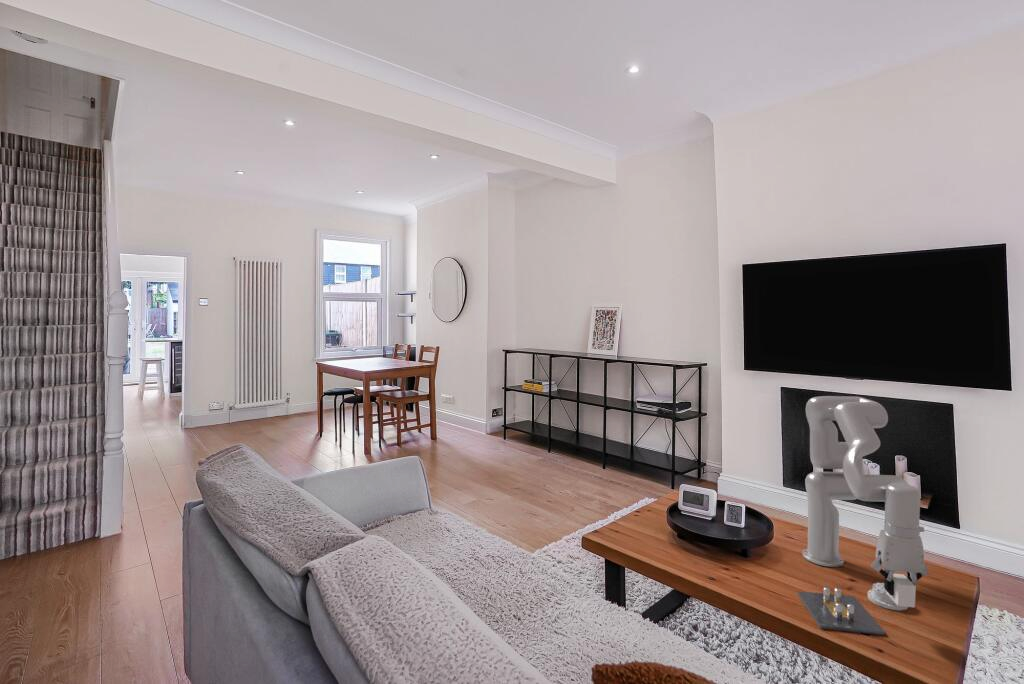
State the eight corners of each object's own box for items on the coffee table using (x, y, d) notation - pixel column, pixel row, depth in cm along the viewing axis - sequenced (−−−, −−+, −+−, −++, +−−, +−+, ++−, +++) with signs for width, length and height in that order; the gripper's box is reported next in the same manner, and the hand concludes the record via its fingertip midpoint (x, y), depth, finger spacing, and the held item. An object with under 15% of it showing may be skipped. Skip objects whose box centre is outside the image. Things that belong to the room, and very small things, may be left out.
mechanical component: (908, 600, 154) (868, 590, 160) (908, 586, 154) (869, 576, 160) (907, 615, 146) (866, 603, 152) (908, 600, 146) (866, 589, 152)
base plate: (797, 594, 158) (797, 578, 157) (854, 599, 154) (854, 583, 154) (820, 628, 140) (820, 611, 140) (884, 635, 137) (885, 617, 136)
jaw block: (886, 593, 141) (887, 572, 141) (902, 594, 141) (903, 574, 140) (897, 605, 136) (898, 584, 135) (914, 607, 135) (915, 586, 134)
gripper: (927, 526, 140) (925, 589, 141) (860, 521, 143) (858, 583, 144) (945, 538, 132) (942, 604, 133) (873, 533, 136) (871, 598, 137)
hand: (898, 592), depth 139 cm, fingers closed on jaw block, 3 cm apart
